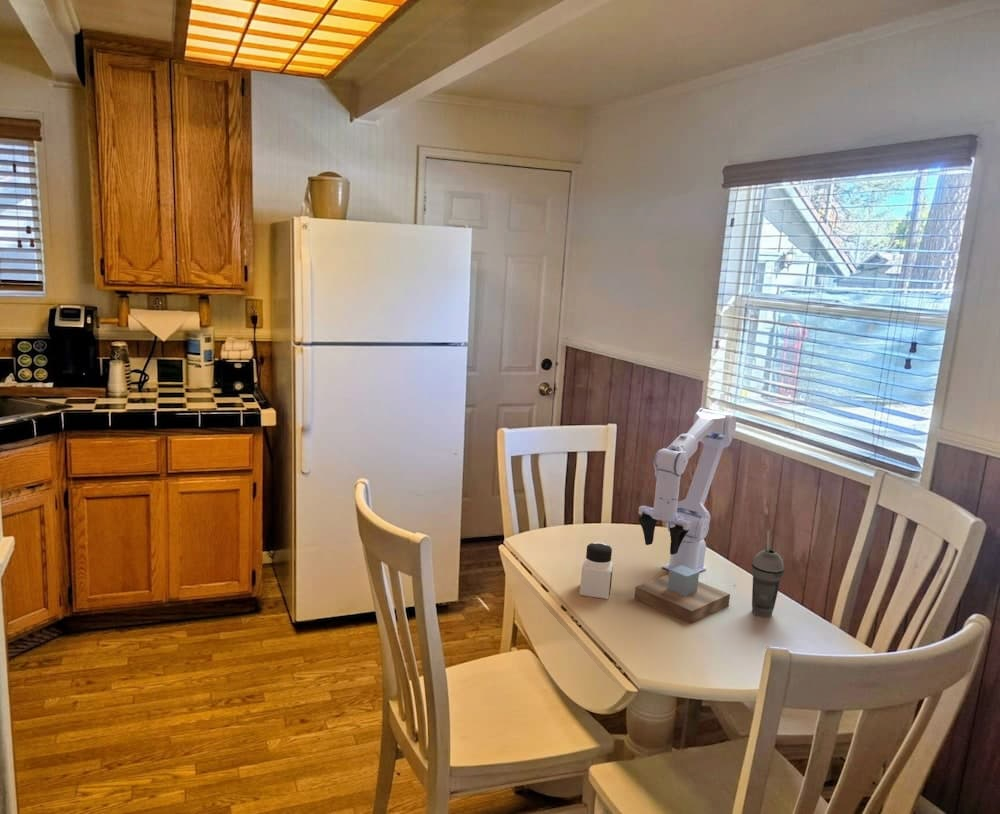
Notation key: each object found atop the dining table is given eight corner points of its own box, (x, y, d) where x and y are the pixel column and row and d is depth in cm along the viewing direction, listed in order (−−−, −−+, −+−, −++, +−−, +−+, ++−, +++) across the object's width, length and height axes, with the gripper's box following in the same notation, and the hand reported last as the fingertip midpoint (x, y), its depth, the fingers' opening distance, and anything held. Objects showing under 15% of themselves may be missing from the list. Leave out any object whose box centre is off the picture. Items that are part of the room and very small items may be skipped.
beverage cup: (762, 622, 175) (773, 539, 171) (739, 609, 181) (749, 529, 178) (784, 617, 178) (796, 536, 175) (761, 604, 184) (771, 526, 181)
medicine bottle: (609, 599, 182) (613, 552, 180) (579, 595, 183) (583, 548, 181) (611, 588, 189) (615, 542, 187) (582, 584, 190) (586, 538, 188)
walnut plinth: (673, 582, 194) (674, 571, 194) (728, 605, 183) (730, 593, 182) (634, 598, 184) (635, 586, 183) (690, 623, 172) (692, 610, 171)
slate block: (679, 584, 186) (681, 565, 185) (696, 591, 182) (699, 571, 182) (667, 589, 183) (669, 569, 182) (685, 596, 179) (687, 576, 178)
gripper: (633, 491, 191) (628, 543, 194) (681, 507, 181) (675, 561, 183) (650, 487, 196) (645, 537, 199) (698, 502, 186) (692, 555, 188)
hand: (661, 548), depth 191 cm, fingers open, 7 cm apart
